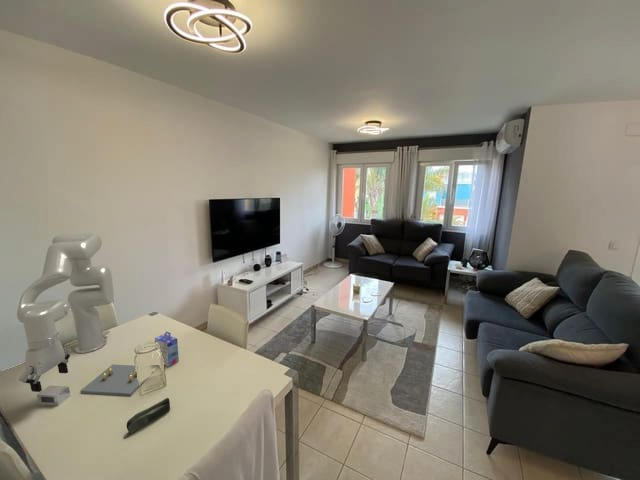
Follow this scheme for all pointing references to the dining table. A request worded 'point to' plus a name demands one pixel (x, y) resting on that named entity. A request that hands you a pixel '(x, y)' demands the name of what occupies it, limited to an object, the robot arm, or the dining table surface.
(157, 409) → the mobile phone
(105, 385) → the pin tray
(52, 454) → the dining table surface
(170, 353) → the ink cartridge box
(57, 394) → the block
